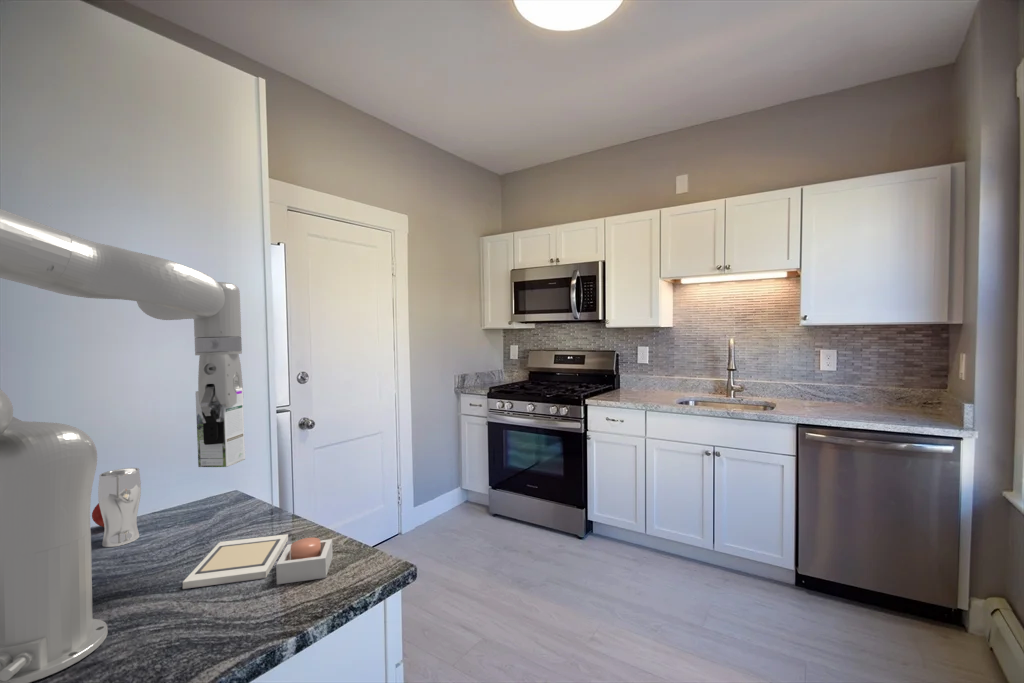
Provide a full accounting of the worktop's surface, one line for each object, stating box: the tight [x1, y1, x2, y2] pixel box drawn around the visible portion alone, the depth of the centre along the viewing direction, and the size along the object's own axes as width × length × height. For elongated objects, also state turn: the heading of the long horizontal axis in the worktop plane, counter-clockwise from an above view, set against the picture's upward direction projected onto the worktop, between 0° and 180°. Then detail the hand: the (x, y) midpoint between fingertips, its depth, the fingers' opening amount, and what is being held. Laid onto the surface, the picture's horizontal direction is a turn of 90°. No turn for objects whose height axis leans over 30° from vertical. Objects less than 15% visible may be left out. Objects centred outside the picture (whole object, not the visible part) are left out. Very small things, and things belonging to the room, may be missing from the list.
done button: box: [291, 537, 321, 560], centre depth 82 cm, size 5×5×2 cm
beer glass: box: [97, 467, 142, 548], centre depth 97 cm, size 7×7×15 cm
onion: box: [91, 502, 104, 528], centre depth 104 cm, size 6×6×8 cm
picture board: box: [182, 534, 289, 590], centre depth 86 cm, size 16×13×1 cm
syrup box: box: [195, 387, 246, 468], centre depth 86 cm, size 6×6×14 cm
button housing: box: [275, 538, 334, 585], centre depth 82 cm, size 8×8×4 cm
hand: (221, 438), depth 86 cm, fingers closed on syrup box, 7 cm apart
